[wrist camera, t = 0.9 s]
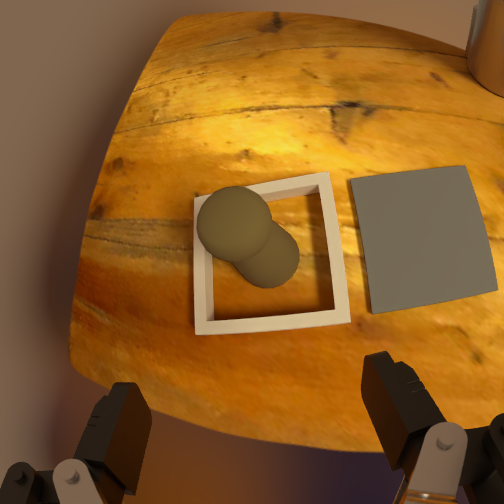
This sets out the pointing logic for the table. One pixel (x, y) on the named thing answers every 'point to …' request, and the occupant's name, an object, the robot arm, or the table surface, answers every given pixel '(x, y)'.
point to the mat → (422, 238)
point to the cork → (247, 236)
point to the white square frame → (284, 322)
